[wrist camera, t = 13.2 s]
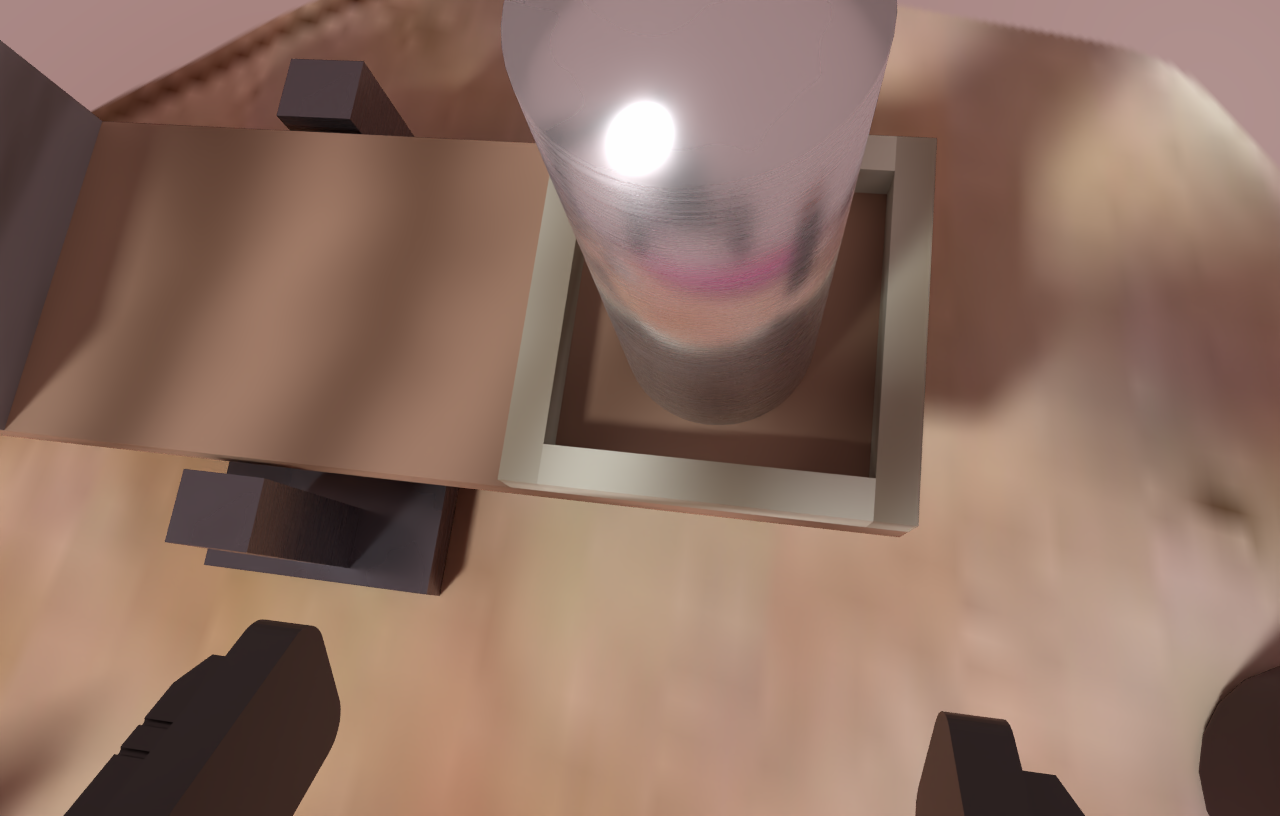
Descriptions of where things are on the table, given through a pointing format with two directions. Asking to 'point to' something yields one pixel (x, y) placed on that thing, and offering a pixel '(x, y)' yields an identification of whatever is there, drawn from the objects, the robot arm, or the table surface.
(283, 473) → the fulcrum stand
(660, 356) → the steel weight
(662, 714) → the table surface
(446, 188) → the balance beam
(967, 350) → the table surface
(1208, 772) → the bottle
